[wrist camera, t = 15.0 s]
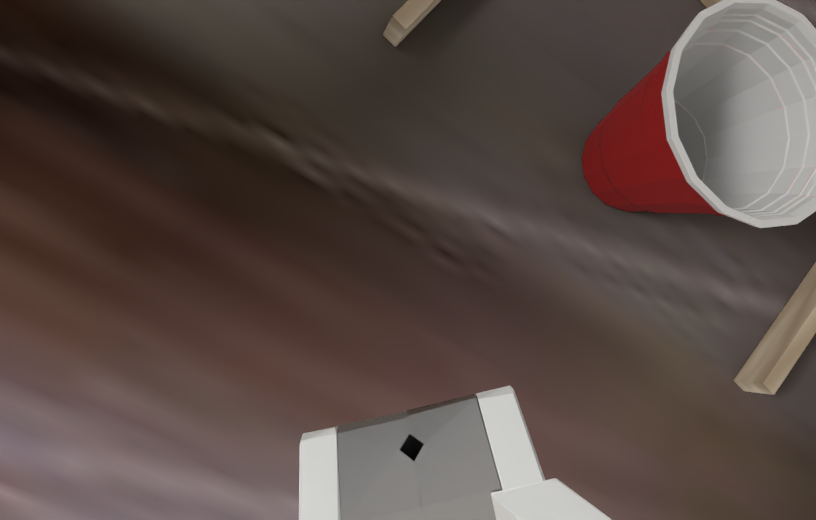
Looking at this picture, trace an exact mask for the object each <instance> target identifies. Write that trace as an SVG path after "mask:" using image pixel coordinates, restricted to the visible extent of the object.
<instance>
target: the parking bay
mask: <svg viewBox="0 0 816 520" xmlns="http://www.w3.org/2000/svg"><path fill="white" fill-rule="evenodd" d="M440 1H441V0H408V1H407V2H406V3H405V4H404V5H403V6H402V7H401V8H400V9H399V10H398V11H397V12H396V13H395V14H394V15H393V16H392V18H391V20H390V21H389V23H388V25H387V27H386V29H385V31H384V33H383V36H384V37H385V38H386V39H387V40H388V41H389V42H390V43H391V44H392V45H393V46H394V47H396V46H397V45H398V44H399V43H400V42H401V41H402V40H403V39H404V38H405V37H406V36H407V35H408V34H409V33H410V32H411V31H412V30H413V29H414V28H415V27H416V26H417V25H418V24H419V23H420V22H421V21H422V20H423V19H424V18H425V17H426V16H427V15H428V14H429V13H430V12H431V11H432V10H433V9H434V8H435V7H436V6H437V5H438V4H439V2H440ZM700 1H701V2H702V3H703V5H704V6H705V7H706V8H709V7H711V6H713V5H715V4H716V3H718V2H720V1H722V0H700ZM815 333H816V262H815V264H814V265H813V266H812V268H811V269H810V271H809V272H808V274H807V275H806V277H805V278H804V279H803V281H802V282H801V284H800V285H799V287H798V288H797V289H796V291H795V292H794V294H793V295H792V297H791V298H790V300H789V301H788V302H787V304H786V305H785V307H784V308H783V310H782V311H781V313H780V314H779V315H778V317H777V318H776V320H775V321H774V323H773V324H772V325H771V327H770V328H769V330H768V331H767V333H766V334H765V336H764V337H763V338H762V340H761V341H760V343H759V344H758V346H757V347H756V349H755V350H754V351H753V353H752V354H751V356H750V357H749V359H748V360H747V361H746V363H745V364H744V366H743V367H742V369H741V370H740V372H739V373H738V374H737V376H736V377H735V379H734V380H733V381H734V382H735V383H736V384H737V385H738V386H739V387H740V388H741V389H742V390H743V391H746V392H755V393H763V394H771V395H774V394H775V393H776V391H777V390H778V388H779V387H780V385H781V384H782V382H783V381H784V379H785V378H786V376H787V375H788V373H789V372H790V370H791V369H792V367H793V366H794V364H795V363H796V361H797V360H798V358H799V357H800V356H801V354H802V353H803V351H804V350H805V348H806V347H807V345H808V344H809V342H810V341H811V339H812V338H813V336H814V335H815Z"/></svg>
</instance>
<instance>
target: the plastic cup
mask: <svg viewBox="0 0 816 520" xmlns="http://www.w3.org/2000/svg"><path fill="white" fill-rule="evenodd" d="M582 165H583V172H584V177H585V179H586V181H587V183H588V185H589V187H590V189H591V191H592V192H593V194H595V195H596V196H597V197H598V198H599V199H600V200H601V201H603V202H604V203H605V204H606V205H609V206H612V207H614V208H617V209H620V210H624V211H627V212H635V211H650V212H652V213H711V214H714V215H724V216H728V217H731V218H733V219H736V220H738V221H741V222H743V223H746V224H748V225H751V226H754V227H758V228H767V227H776V226H786V225H796V224H798V223H799V222H801V221H802V220H804V219H805V218H807V217H808V216H810V215H811V214H812V213H814V212H815V211H816V29H815V27H814V26H813V25H812V24H811V23H810V22H809V21H808V19H807V18H806V17H805V16H804V15H803V14H801V13H799V12H797V11H796V10H794V9H792V8H790V7H788V6H786V5H784V4H782V3H780V2H778V1H776V0H722V1H720V2H718V3H716V4H715V5H713V6H711V7H709V8H707V9H705V10H703V11H701V12H699V13H698V14H697V16H696V17H695V18H694V19H693V20H692V22H691V23H690V25H689V26H688V27H687V29H686V30H685V31H684V33H683V34H682V36H681V37H680V38H679V40H678V41H677V43H676V44H675V45H674V47H673V48H672V50H670V51H669V52H668V53H667V54H666V55H665V57H664V58H663V59H662V61H661V62H660V63H659V64H658V65H657V66H656V67H655V68H653V69H652V70H651V71H650V72H649V73H648V74H647V75H646V76H645V77H644V78H643V79H642V80H641V81H640V82H639V83H638V84H637V85H636V86H635V87H633V88H632V89H631V90H630V91H629V92H628V93H627V94H626V95H625V96H624V97H623V98H622V99H621V100H620V101H619V102H618V103H617V104H616V105H615V107H614V108H613V110H612V111H611V112H610V113H609V114H608V115H607V116H606V117H605V118H604V119H602V120H601V121H600V122H599V123H598V125H597V126H596V128H595V129H594V130H593V132H592V133H591V134H590V136H589V137H588V139H587V141H586V143H585V147H584V151H583V155H582Z"/></svg>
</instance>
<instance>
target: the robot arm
mask: <svg viewBox="0 0 816 520" xmlns="http://www.w3.org/2000/svg"><path fill="white" fill-rule="evenodd" d="M299 520H612V519H611V518H609V517H608V516H607V515H605V514H604V513H603V512H601V511H600V510H599V509H597V508H596V507H595V506H593V505H592V504H590V503H589V502H588V501H586V500H585V499H584V498H582V497H581V496H580V495H578V494H577V493H576V492H574V491H573V490H572V489H570V488H569V487H568V486H566V485H565V484H564V483H562V482H561V481H560V480H558V479H557V478H554V479H549V480H545V478H544V475H543V472H542V469H541V466H540V463H539V460H538V458H537V455H536V452H535V449H534V446H533V443H532V440H531V437H530V434H529V432H528V429H527V426H526V423H525V420H524V417H523V414H522V411H521V408H520V406H519V403H518V400H517V397H516V394H515V391H514V390H513V388H512V387H511V386H506V387H502V388H497V389H493V390H489V391H485V392H481V393H477V394H476V396H475V394H472V395H468V396H464V397H459V398H455V399H451V400H447V401H443V402H439V403H435V404H431V405H427V406H423V407H419V408H415V409H411V410H407V411H406V412H401V413H396V414H391V415H387V416H382V417H377V418H372V419H367V420H363V421H358V422H353V423H348V424H343V425H339V426H337V427H332V428H327V429H322V430H318V431H313V432H308V433H303V435H302V438H301V442H300V469H299Z"/></svg>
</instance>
